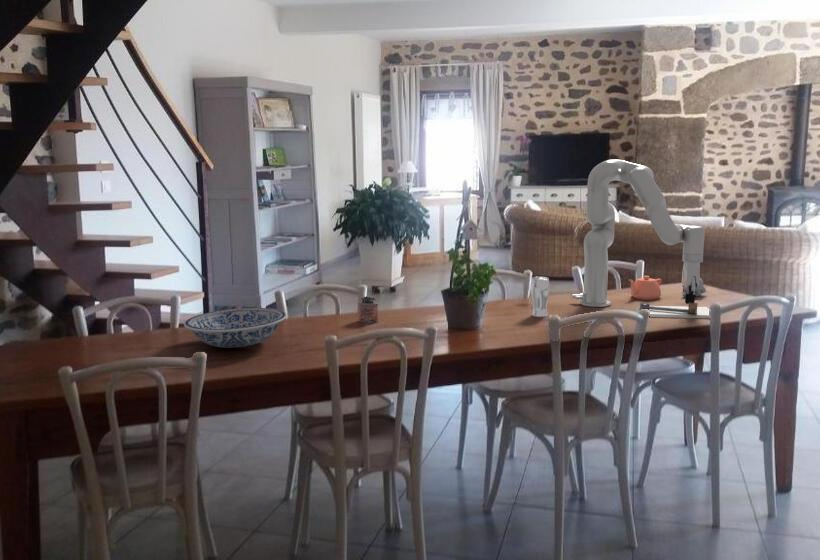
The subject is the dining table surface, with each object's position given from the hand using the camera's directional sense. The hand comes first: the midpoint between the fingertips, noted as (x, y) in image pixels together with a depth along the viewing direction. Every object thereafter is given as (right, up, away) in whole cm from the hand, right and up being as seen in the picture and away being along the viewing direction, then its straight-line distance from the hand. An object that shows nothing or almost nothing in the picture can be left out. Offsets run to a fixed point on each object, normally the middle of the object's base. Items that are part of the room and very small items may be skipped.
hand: (689, 303), depth 297 cm
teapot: (-9, +1, +30) cm, 32 cm away
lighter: (-126, -7, -7) cm, 126 cm away
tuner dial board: (-5, -4, 0) cm, 7 cm away
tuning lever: (-9, -3, -3) cm, 10 cm away
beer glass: (-59, -5, 0) cm, 59 cm away
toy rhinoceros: (+13, +2, +32) cm, 34 cm away
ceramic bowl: (-170, -13, -37) cm, 174 cm away
